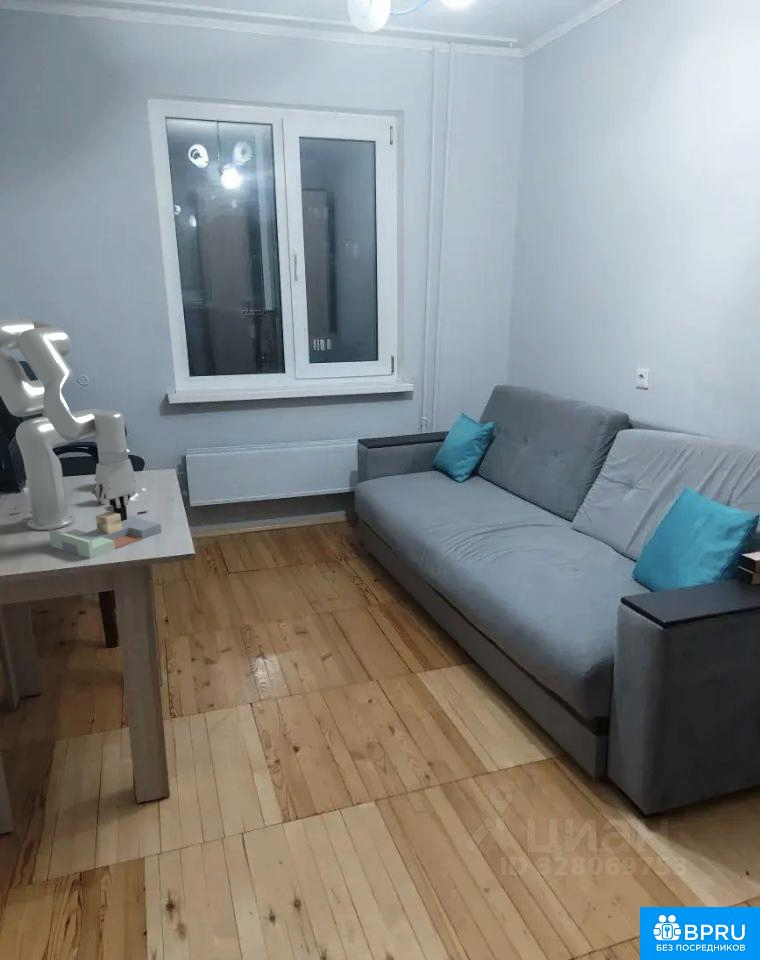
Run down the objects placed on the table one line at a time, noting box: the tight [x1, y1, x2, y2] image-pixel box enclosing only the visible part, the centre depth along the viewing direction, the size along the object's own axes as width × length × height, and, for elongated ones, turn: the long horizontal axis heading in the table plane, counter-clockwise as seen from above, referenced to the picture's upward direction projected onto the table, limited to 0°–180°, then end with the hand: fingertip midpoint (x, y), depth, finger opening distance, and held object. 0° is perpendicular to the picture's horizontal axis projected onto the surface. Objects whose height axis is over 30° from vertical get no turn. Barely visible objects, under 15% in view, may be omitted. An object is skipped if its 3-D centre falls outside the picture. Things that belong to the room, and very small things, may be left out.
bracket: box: [126, 487, 149, 516], centre depth 215 cm, size 13×7×8 cm, turn 34°
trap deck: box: [48, 515, 162, 559], centre depth 190 cm, size 17×23×4 cm
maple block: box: [95, 511, 122, 534], centre depth 189 cm, size 4×4×4 cm
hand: (121, 519), depth 193 cm, fingers closed
